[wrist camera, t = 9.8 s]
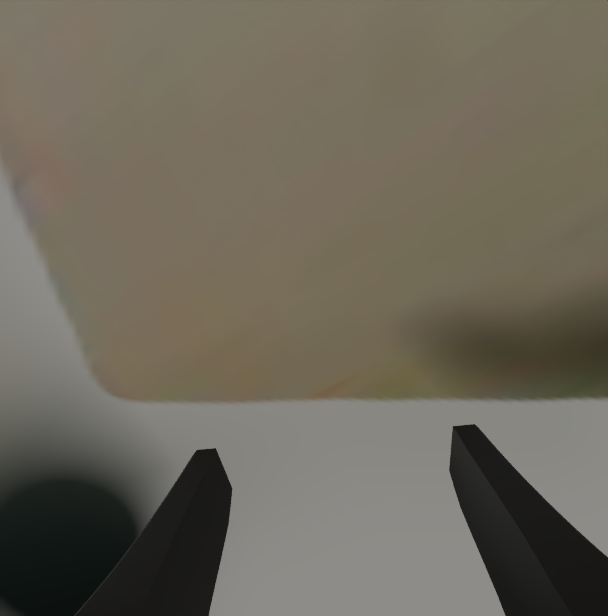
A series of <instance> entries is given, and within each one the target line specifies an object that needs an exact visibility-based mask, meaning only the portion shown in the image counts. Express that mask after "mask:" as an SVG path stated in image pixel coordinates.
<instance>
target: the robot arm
mask: <svg viewBox="0 0 608 616" xmlns="http://www.w3.org/2000/svg"><path fill="white" fill-rule="evenodd" d="M449 470H450V474H451V478H452V481H453V485H454V488H455V491H456V494H457V497H458V501H459V503H460V507H461V509H462V512H463V514H464V517H465V519H466V522H467V524H468V526H469V529H470V531H471V533H472V536H473V538H474V541H475V543H476V545H477V548H478V550H479V552H480V555H481V557H482V559H483V562H484V564H485V566H486V569H487V571H488V574H489V576H490V578H491V581H492V583H493V585H494V588H495V590H496V592H497V595H498V597H499V600H500V602H501V605H502V608H503V610H504V613H505V615H506V616H608V557H607V556H606V555H604V554H603V553H602V552H601V551H600V550H599V549H597V548H596V547H595V546H594V545H593V544H592V543H591V542H590V541H588V540H587V539H586V538H585V537H584V536H583V535H582V534H581V533H580V532H579V531H577V530H576V529H575V528H574V527H573V526H572V525H571V524H570V523H569V522H568V521H567V520H566V519H565V518H563V516H562V515H561V514H559V513H558V512H557V511H556V510H555V509H554V508H553V507H552V506H551V505H550V504H549V503H548V502H547V501H546V500H545V499H544V498H543V497H542V496H541V495H540V494H539V493H538V492H537V491H536V490H535V489H534V488H533V487H532V486H531V485H530V484H529V483H528V482H527V481H526V480H525V479H524V478H523V477H522V476H521V474H520V473H519V472H518V471H517V470H516V469H515V468H514V467H513V466H512V465H511V464H510V463H509V462H508V461H507V459H506V458H505V457H504V456H503V455H502V454H501V453H500V452H499V451H498V450H497V449H496V447H495V446H494V445H493V444H492V443H491V442H490V441H489V440H488V438H487V437H486V436H485V435H484V434H483V432H482V431H481V430H480V429H479V428H478V427H477V426H476V425H475V424H473V425H463V426H453V432H452V444H451V457H450V469H449ZM231 496H232V487H231V484H230V482H229V480H228V477H227V475H226V472H225V470H224V467H223V465H222V463H221V460H220V458H219V456H218V453H217V450H216V448H215V449H204V450H197V451H196V452H195V453H194V455H193V456H192V458H191V459H190V461H189V462H188V464H187V465H186V467H185V469H184V470H183V472H182V473H181V475H180V476H179V478H178V479H177V481H176V482H175V484H174V486H173V487H172V489H171V490H170V492H169V493H168V495H167V496H166V498H165V499H164V501H163V502H162V503H161V505H160V506H159V508H158V509H157V511H156V512H155V514H154V515H153V517H152V518H151V519H150V521H149V522H148V524H147V525H146V527H145V528H144V529H143V531H142V532H141V533H140V535H139V536H138V537H137V539H136V540H135V542H134V543H133V544H132V546H131V547H130V548H129V550H128V551H127V552H126V554H125V555H124V556H123V558H122V559H121V560H120V562H119V563H118V564H117V565H116V567H115V568H114V569H113V570H112V572H111V573H110V574H109V575H108V577H107V578H106V579H105V580H104V582H103V583H102V584H101V585H100V586H99V588H98V589H97V590H96V591H95V593H94V594H93V595H92V596H91V597H90V598H89V600H88V601H87V602H86V603H85V604H84V605H83V606H82V608H81V609H80V610H79V611H78V612H77V613H76V614H75V615H74V616H209V610H210V606H211V601H212V597H213V592H214V588H215V583H216V579H217V574H218V570H219V565H220V561H221V556H222V551H223V547H224V542H225V538H226V533H227V528H228V523H229V515H230V506H231Z"/></svg>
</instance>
